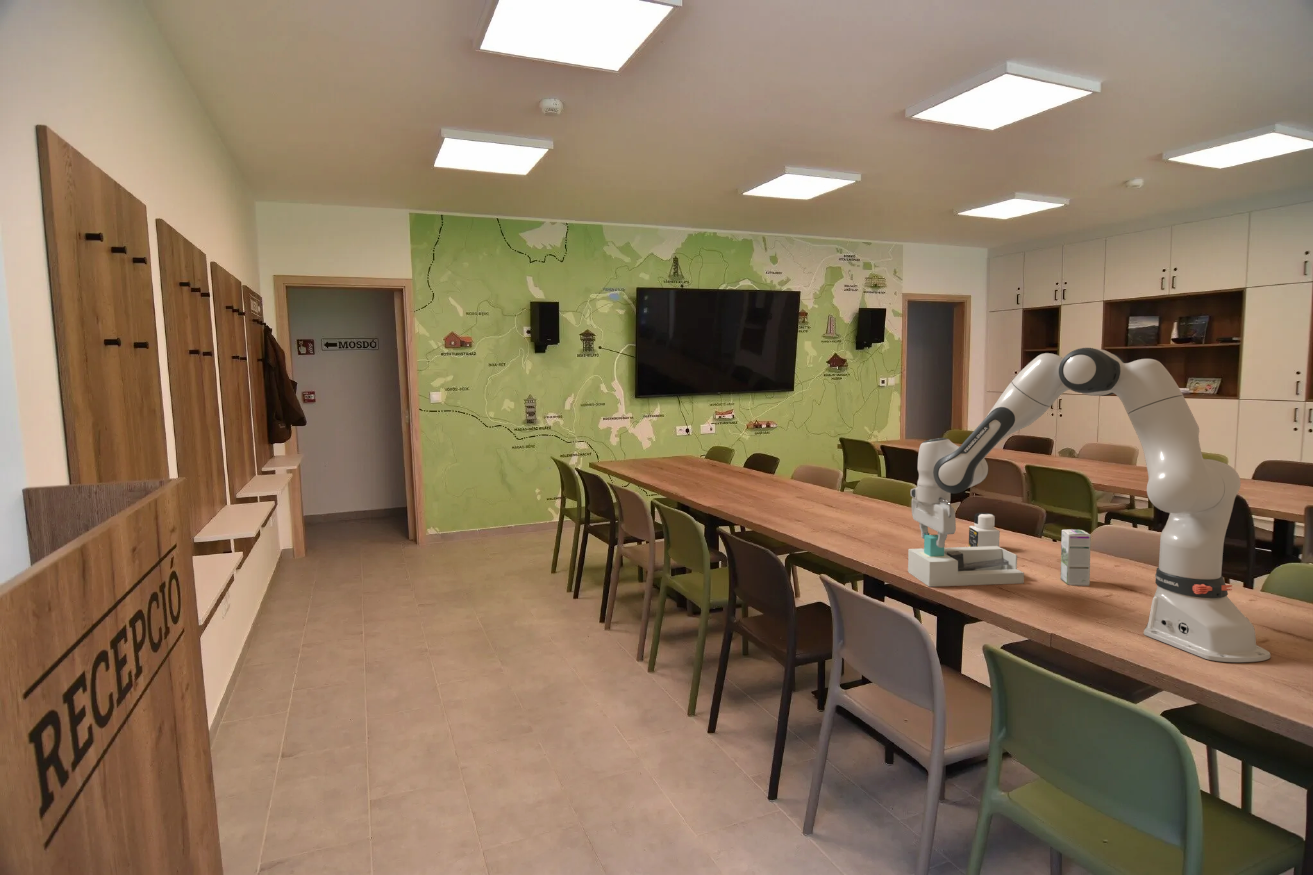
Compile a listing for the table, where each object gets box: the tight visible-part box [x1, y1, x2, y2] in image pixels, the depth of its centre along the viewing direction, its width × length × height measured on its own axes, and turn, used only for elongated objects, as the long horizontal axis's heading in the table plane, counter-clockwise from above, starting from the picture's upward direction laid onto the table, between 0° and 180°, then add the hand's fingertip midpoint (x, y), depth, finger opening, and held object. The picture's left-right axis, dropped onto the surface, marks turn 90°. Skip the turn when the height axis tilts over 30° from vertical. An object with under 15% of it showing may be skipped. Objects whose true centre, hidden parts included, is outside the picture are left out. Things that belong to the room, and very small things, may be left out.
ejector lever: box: [947, 551, 1009, 571], centre depth 200 cm, size 3×16×5 cm, turn 93°
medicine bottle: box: [968, 512, 1001, 547], centre depth 229 cm, size 7×7×12 cm
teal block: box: [923, 534, 945, 556], centre depth 198 cm, size 4×4×5 cm
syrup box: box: [1060, 528, 1092, 587], centre depth 193 cm, size 6×6×14 cm
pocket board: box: [907, 546, 1025, 587], centre depth 200 cm, size 14×27×7 cm, turn 93°
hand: (932, 542), depth 198 cm, fingers open, 8 cm apart
